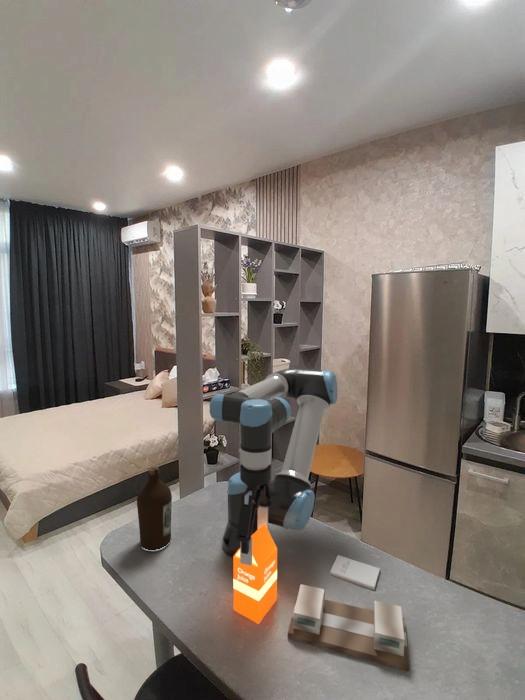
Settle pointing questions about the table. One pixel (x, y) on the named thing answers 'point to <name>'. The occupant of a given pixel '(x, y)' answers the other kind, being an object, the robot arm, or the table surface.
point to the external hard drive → (355, 572)
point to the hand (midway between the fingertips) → (255, 545)
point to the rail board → (350, 628)
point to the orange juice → (256, 577)
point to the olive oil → (154, 512)
